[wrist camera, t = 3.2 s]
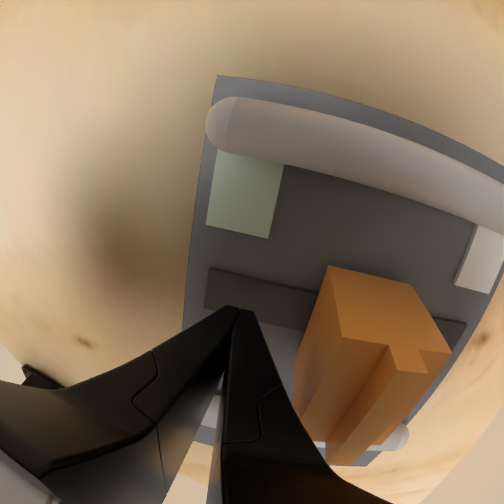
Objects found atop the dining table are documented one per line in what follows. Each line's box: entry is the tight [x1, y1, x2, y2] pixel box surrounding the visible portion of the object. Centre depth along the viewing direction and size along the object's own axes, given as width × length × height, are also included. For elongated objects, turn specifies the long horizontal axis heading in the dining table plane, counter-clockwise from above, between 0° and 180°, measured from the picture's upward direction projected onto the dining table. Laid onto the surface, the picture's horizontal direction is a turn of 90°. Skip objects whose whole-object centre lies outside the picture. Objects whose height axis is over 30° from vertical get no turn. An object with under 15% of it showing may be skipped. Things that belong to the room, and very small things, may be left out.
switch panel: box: [182, 75, 504, 466], centre depth 11 cm, size 18×12×4 cm, turn 169°
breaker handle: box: [292, 265, 453, 465], centre depth 8 cm, size 4×3×4 cm
